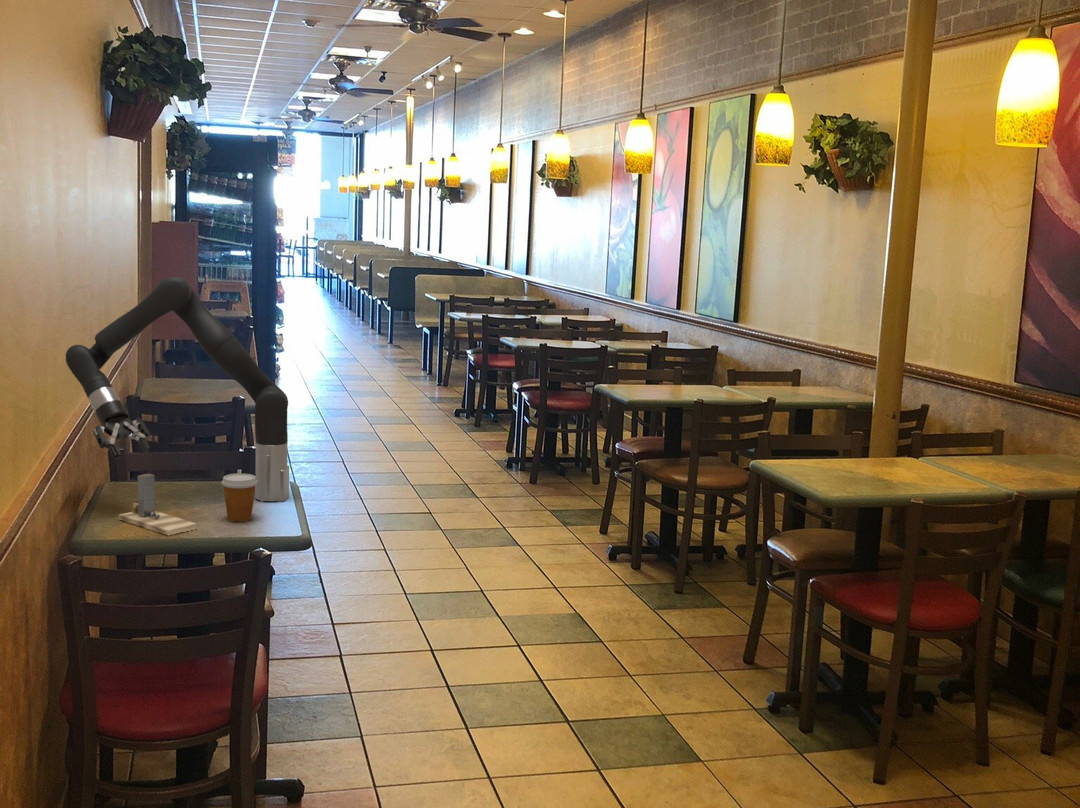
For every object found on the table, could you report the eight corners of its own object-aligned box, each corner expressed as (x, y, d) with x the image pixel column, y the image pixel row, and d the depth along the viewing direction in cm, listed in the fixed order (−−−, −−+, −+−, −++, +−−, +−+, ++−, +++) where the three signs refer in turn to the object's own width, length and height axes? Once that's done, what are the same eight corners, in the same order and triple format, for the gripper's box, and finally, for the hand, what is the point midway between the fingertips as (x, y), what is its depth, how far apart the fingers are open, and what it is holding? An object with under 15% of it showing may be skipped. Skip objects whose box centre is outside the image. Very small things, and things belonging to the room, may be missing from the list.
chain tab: (163, 517, 288) (163, 477, 286) (152, 519, 285) (151, 479, 283) (143, 510, 293) (143, 471, 291) (132, 513, 290) (131, 474, 288)
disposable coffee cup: (255, 523, 292) (255, 481, 290) (219, 523, 290) (219, 481, 289) (258, 514, 301) (258, 473, 299) (223, 514, 300) (223, 472, 298)
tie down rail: (197, 529, 284) (197, 514, 284) (168, 536, 277) (168, 521, 276) (147, 513, 297) (147, 499, 296) (118, 520, 290) (118, 505, 289)
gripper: (88, 403, 288) (114, 452, 284) (136, 395, 299) (161, 442, 295) (79, 418, 292) (104, 467, 288) (126, 410, 303) (151, 457, 299)
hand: (133, 454), depth 291 cm, fingers open, 8 cm apart
